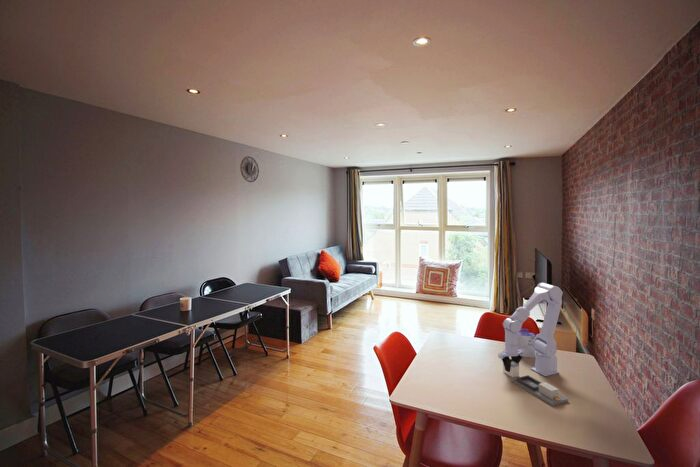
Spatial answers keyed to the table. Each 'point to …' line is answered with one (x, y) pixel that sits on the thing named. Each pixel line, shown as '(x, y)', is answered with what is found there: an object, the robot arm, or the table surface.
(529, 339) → the ink cartridge box
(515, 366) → the plug
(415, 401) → the table surface
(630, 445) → the table surface
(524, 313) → the robot arm
